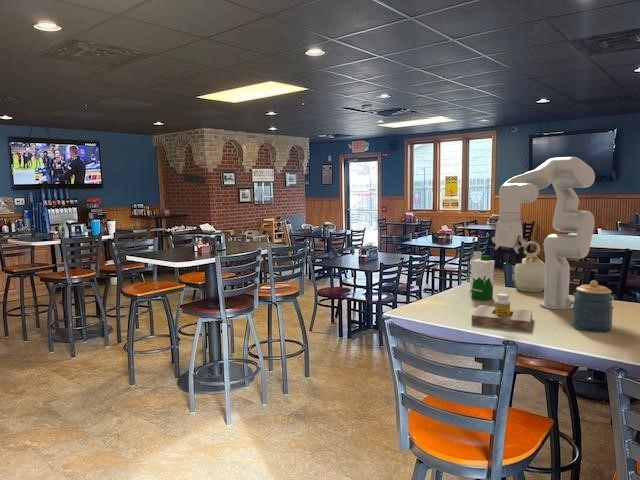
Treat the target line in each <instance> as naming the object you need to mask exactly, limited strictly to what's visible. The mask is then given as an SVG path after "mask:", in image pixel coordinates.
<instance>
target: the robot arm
mask: <svg viewBox="0 0 640 480" xmlns="http://www.w3.org/2000/svg"><path fill="white" fill-rule="evenodd" d="M595 179H596V174H595V172H594V169H593V168H592V167H591V166H590V165H588V164H587V163H586V162H585V161H583V160H582V159H581V158H579V157H577V156H562V157H560V156H559V157H558V156H557V157H552V158H549V159H547V160H546V161H545V162H543V163H542V164H540V165H539V166H537V167H536V168H535V169H533V170H530V171H527V172H524V173H522V174H519V175H516V176H513V177H512V178H509V179H508V180H506V181H505V182H504V183H503V184H502V185H501V186H500V187H499V191H498V196H499V205H498V207H499V208H498V220H497V221H496V225H495V226H496V227H495V232H494V233H495V235H494V236H493V237H491V241H492V245H493V248H494V250H495V261H503V260H504V249H503V248H512V249H513V250H514V251H515V253H514V256H513V257H514V259H513V260H514V261H513V262H514V264H515V265H516V264H520V263H522V259H523V254H525V253H524V250H525V249H526V247H527V248H528V246H527V244H528V242H529V241H527V240H526V239H524V237H523V235H524V234H523V224H522V220H521V213H522V212H521V209H522V207H521V205H522V204H529V203H534V202H536V200H537V199H538V197H539V195H540V194H539V191H541V190H542V189H547V188H548V187H550V185H551V184H552V187H553V189H554V192H555V194H556V203H555V210H554V214H553V218H552V229H554V230H555V231H557V232H562V233H563V234H562V233H551V234H548V235H547V236H546V237H545V238H544V241H543V250H544V258H545V259H544V261H545V262H544V263H545V283H544V288H543V301H542V300H541V301H540V302H539V306H540V307H542V308H545V309H549V310H557V311H558V310H560V311H561V310H563V311H569V310H571V309H573V302H574V299H573V298H572V299H571V298H570V296H569V293H570V292H569V291H570V275H571V274H570V273H571V271H570V270H571V267H570V264H569V261H568V260H567V259H566V258H571V259H585V258H586V257H587V256H588V254H589V252H590V248H591V243H592V240H593V239H592V238H593V234H594V229H595V224H596V223H595V216H594V214H593V212H591V211H589V210H583V209H581V210H580V209H578V208H579V203H580V198H579V196H578V195H577V193H576V192H575V190H574V189H579V188H580V189H583V188H584V189H586V188H589V187H592V185H593V184H594V182H595ZM564 233H565V234H564ZM566 233H576V234H574V235H573V234H566ZM526 250H527V249H526Z"/></svg>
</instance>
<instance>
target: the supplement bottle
mask: <svg viewBox="0 0 640 480" xmlns="http://www.w3.org/2000/svg"><path fill="white" fill-rule="evenodd" d="M496 296H497V299H496V300H495V302H494V307H495V314H498V315H507V316H510V308H511V301H510V299H509V297H510V296H509V294H507V293H497V295H496Z"/></svg>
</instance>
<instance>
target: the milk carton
mask: <svg viewBox="0 0 640 480" xmlns="http://www.w3.org/2000/svg"><path fill="white" fill-rule="evenodd" d="M495 263H496V260H495V259H494V260H493V259H491V255H488V254H487V255H486V254H482V255H481V259H477V260H472V267H473V277H472V290H471V295H470V296H471V298H470V299H472V300H473V299H475V300H481V301H488V300H492V299H493V297H494V272H495V271H494V270H495Z"/></svg>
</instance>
